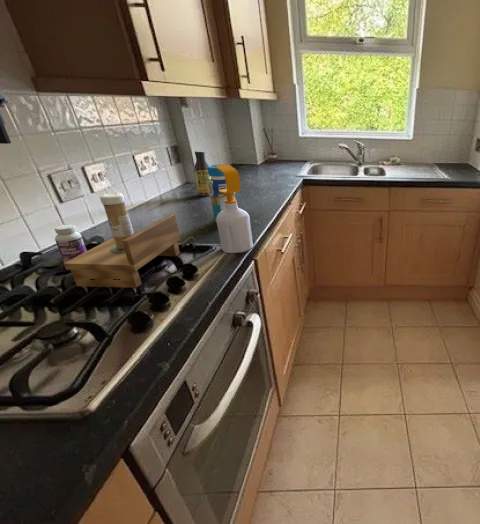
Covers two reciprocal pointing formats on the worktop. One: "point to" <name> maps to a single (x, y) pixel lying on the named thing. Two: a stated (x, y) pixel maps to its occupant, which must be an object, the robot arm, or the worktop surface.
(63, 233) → the pill bottle
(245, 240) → the soap bottle
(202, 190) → the sauce bottle
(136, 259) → the shelf
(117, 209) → the sprinkles bottle
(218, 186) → the blue canister
